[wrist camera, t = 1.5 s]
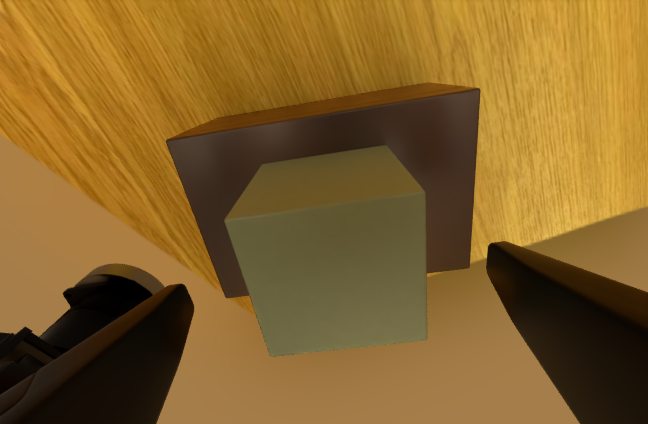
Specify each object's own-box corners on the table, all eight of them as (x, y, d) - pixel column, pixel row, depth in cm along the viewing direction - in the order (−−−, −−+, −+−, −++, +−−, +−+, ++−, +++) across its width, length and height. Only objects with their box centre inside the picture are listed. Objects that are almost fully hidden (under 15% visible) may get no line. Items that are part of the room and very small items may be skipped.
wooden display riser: (251, 238, 20) (225, 299, 15) (215, 118, 17) (164, 140, 12) (429, 213, 19) (470, 268, 14) (428, 82, 16) (481, 87, 11)
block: (287, 265, 14) (269, 358, 10) (261, 163, 12) (223, 220, 7) (394, 251, 14) (428, 341, 9) (386, 144, 12) (426, 190, 7)
